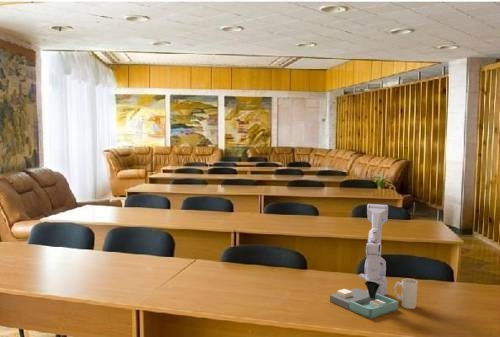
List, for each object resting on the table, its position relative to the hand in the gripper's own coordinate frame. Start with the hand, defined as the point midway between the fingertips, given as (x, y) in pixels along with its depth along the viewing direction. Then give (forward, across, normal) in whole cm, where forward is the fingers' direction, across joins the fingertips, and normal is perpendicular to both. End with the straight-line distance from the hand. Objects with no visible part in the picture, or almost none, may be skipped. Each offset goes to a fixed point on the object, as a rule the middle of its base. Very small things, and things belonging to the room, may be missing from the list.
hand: (372, 297), depth 217 cm
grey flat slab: (+4, -8, -4) cm, 10 cm away
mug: (+4, +8, +12) cm, 16 cm away
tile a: (+1, +3, 0) cm, 4 cm away
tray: (+4, +4, -4) cm, 6 cm away
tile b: (+1, -10, -7) cm, 13 cm away
